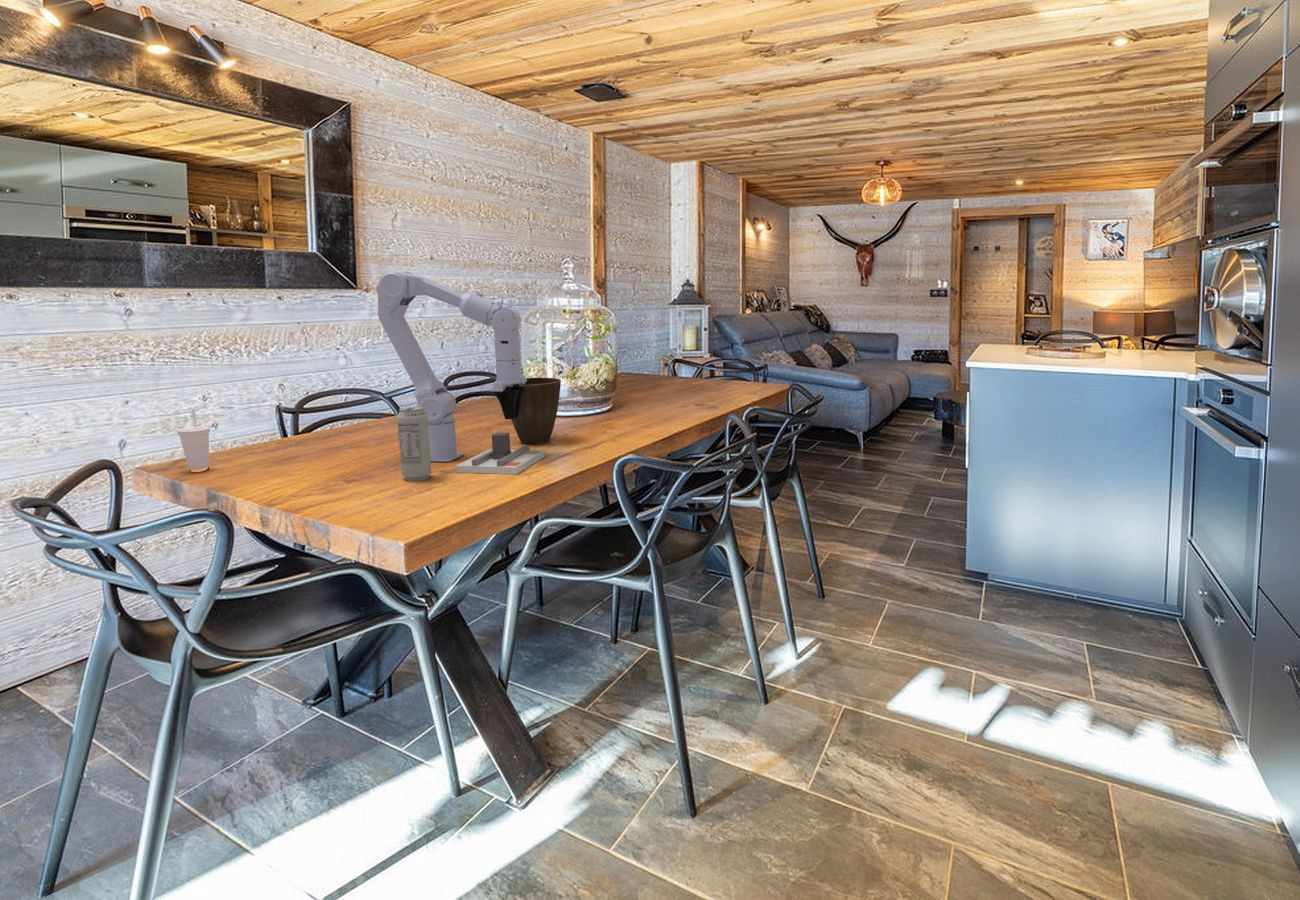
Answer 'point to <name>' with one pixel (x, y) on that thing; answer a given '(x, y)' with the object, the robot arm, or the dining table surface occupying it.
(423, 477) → the energy drink can
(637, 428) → the dining table surface
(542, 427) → the plant pot
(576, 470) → the dining table surface
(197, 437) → the smoothie
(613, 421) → the dining table surface
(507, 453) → the lever
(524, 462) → the slider rail board
